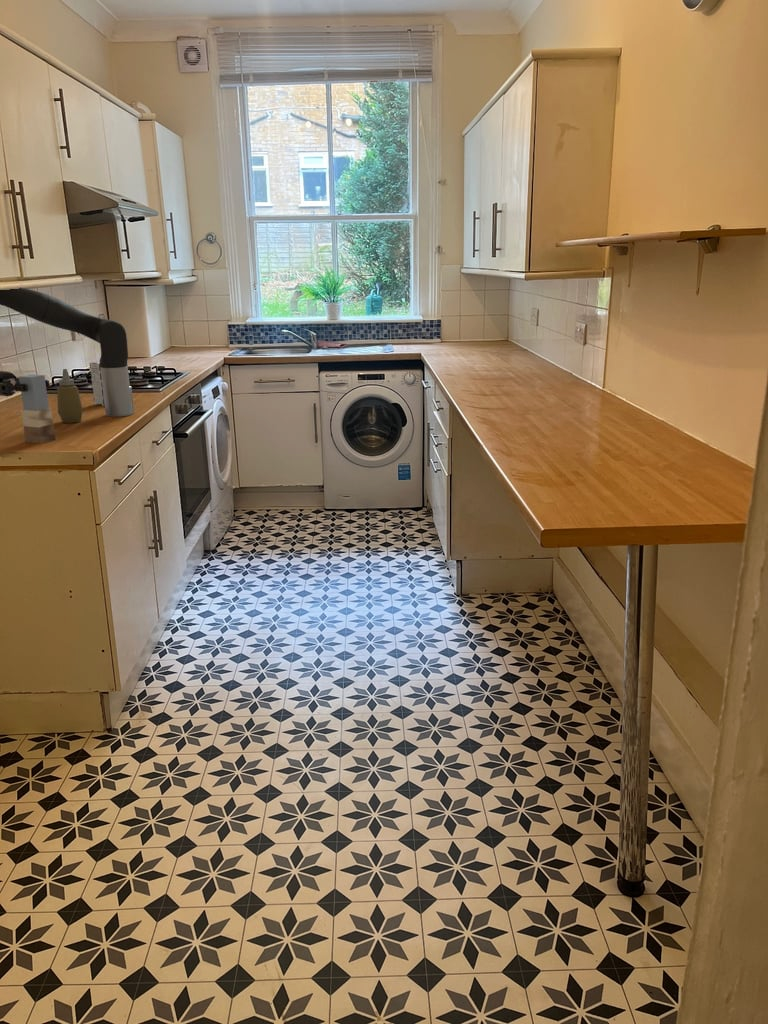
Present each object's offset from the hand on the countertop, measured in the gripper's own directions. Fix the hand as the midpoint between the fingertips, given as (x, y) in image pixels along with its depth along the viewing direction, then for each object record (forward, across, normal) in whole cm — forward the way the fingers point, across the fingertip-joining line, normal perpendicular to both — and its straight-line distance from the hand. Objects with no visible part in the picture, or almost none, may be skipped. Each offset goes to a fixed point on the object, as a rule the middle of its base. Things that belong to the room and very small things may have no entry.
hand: (37, 385), depth 232 cm
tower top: (-2, 0, +12) cm, 12 cm away
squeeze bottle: (-15, +27, +17) cm, 35 cm away
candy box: (-27, +62, +17) cm, 70 cm away
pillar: (-2, 0, +7) cm, 7 cm away
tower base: (-2, 0, +17) cm, 17 cm away
